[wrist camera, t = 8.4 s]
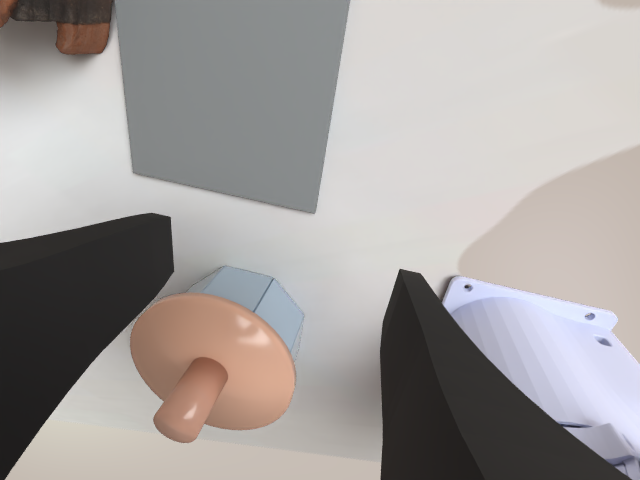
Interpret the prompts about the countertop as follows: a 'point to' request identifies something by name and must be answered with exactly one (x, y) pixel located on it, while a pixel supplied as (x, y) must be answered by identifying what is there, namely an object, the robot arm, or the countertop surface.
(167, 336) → the lid
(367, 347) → the countertop surface
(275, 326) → the grey octagonal bowl
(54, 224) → the countertop surface
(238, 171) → the mat
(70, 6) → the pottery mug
